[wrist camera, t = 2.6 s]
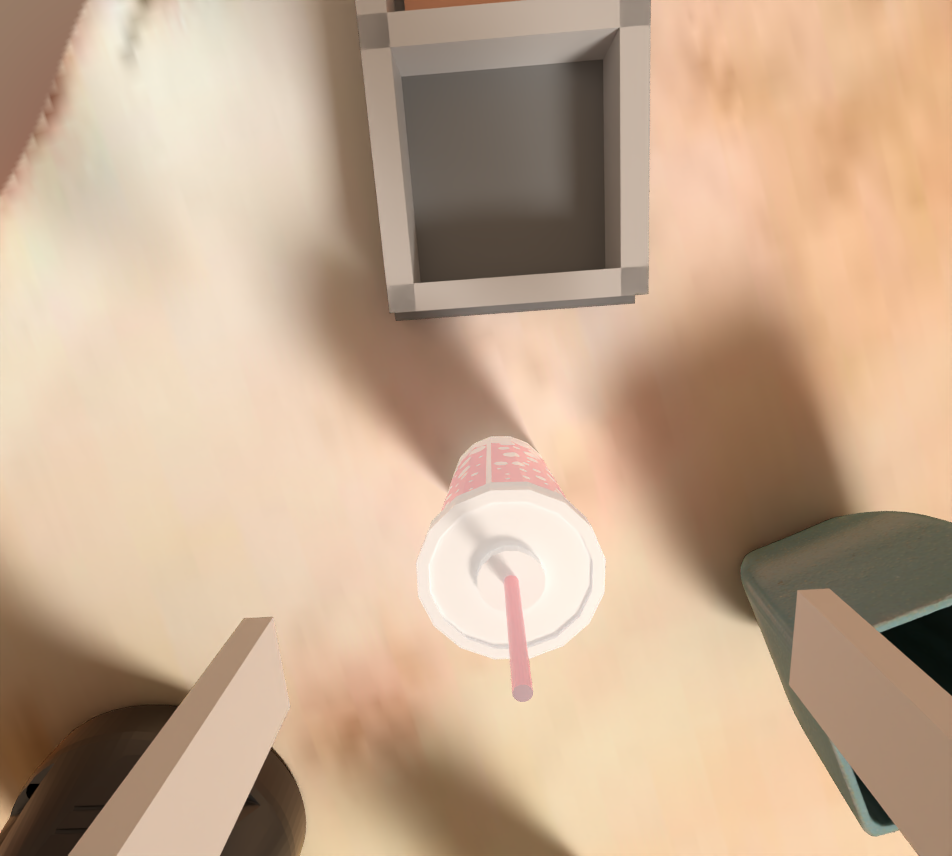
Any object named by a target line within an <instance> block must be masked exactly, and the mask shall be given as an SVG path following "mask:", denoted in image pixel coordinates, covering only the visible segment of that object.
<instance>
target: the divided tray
mask: <svg viewBox="0 0 952 856" xmlns="http://www.w3.org/2000/svg"><path fill="white" fill-rule="evenodd" d="M355 5H356V14H357V23H358V32H359V41H360V50H361V59H362V68H363V77H364V86H365V96H366V105H367V114H368V123H369V132H370V141H371V150H372V159H373V168H374V177H375V186H376V195H377V205H378V214H379V223H380V232H381V241H382V250H383V259H384V268H385V277H386V286H387V295H388V304H389V313H395V319H396V321H401V320H414V319H428V318H442V317H455V316H469V315H482V314H496V313H510V312H523V311H537V310H551V309H564V308H578V307H592V306H605V305H619V304H632V303H635V295H643V294H648V274H649V147H650V21H651V0H355Z"/></svg>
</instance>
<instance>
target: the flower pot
mask: <svg viewBox="0 0 952 856" xmlns="http://www.w3.org/2000/svg"><path fill="white" fill-rule="evenodd" d="M740 574H741V581H742V585H743V587H744V590H745V593H746V595H747V598H748V600H749V602H750V605H751V607H752V610H753V612H754V614H755V617H756V619H757V622H758V624H759V627H760V629H761V632H762V634H763V637H764V639H765V642H766V644H767V647H768V649H769V652H770V654H771V657H772V659H773V662H774V664H775V667H776V669H777V672H778V674H779V677H780V680H781V682H782V685H783V688H784V690H785V693H786V695H787V698H788V700H789V702H790V705H791V707H792V709H793V711H794V713H795V715H796V717H797V719H798V721H799V723H800V725H801V727H802V729H803V730H804V732H805V734H806V736H807V737H808V739H809V741H810V742H811V744H812V746H813V747H814V749H815V751H816V752H817V754H818V756H819V757H820V759H821V761H822V762H823V764H824V766H825V767H826V769H827V771H828V772H829V774H830V776H831V777H832V779H833V781H834V782H835V784H836V786H837V787H838V789H839V791H840V792H841V794H842V796H843V797H844V799H845V801H846V802H847V804H848V806H849V807H850V809H851V810H852V812H853V814H854V815H855V817H856V819H857V820H858V822H859V824H860V825H861V827H862V828H863V830H864V831H865V832H866V833H868V834H869V835H871V836H880V835H884V834H888V833H891V832H895V831H898V830H899V829H898V828H897V826H896V825H895V824H894V823H893V821H892V820H891V819H890V817H889V816H888V815H887V813H886V812H885V811H884V809H883V808H882V807H881V805H880V804H879V803H878V801H877V800H876V799H875V797H874V796H873V795H872V794H871V792H870V791H869V790H868V788H867V787H866V786H865V784H864V783H863V782H862V780H861V779H860V778H859V776H858V775H857V774H856V772H855V771H854V770H853V769H852V767H851V766H850V765H849V763H848V762H847V761H846V759H845V758H844V757H843V755H842V754H841V753H840V751H839V750H838V749H837V747H836V746H835V745H834V743H833V742H832V741H831V740H830V738H829V737H828V736H827V734H826V733H825V732H824V730H823V729H822V728H821V726H820V725H819V724H818V722H817V721H816V720H815V718H814V717H813V716H812V715H811V713H810V712H809V711H808V709H807V708H806V707H805V705H804V704H803V703H802V701H801V700H800V699H799V697H798V696H797V695H796V693H795V692H794V691H793V689H792V688H791V687H790V686H789V679H790V668H791V656H792V645H793V634H794V623H795V612H796V600H797V590H810V589H830V590H832V591H833V592H834V593H835V594H836V595H837V596H838V597H840V598H841V599H842V600H843V601H844V602H845V603H846V604H847V605H849V606H850V607H851V608H852V609H853V610H854V611H855V612H857V613H858V614H859V615H860V616H861V617H862V618H863V619H865V620H866V621H867V622H868V623H869V624H870V625H871V626H873V627H874V628H875V629H876V630H877V631H878V632H879V633H880V634H882V635H883V636H884V637H885V638H886V639H887V640H888V641H890V642H891V643H892V644H893V645H894V646H895V647H896V648H898V649H899V650H900V651H901V652H902V653H903V654H904V655H906V656H907V657H908V658H909V659H910V660H911V661H912V662H913V663H915V664H916V665H917V666H918V667H919V668H920V669H921V670H923V671H924V672H925V673H926V674H927V675H928V676H929V677H931V678H932V679H933V680H934V681H935V682H936V683H937V684H939V685H940V686H941V687H942V688H943V689H944V690H945V691H946V692H948V693H949V694H950V695H951V696H952V523H951V522H948V521H945V520H941V519H937V518H934V517H930V516H926V515H921V514H915V513H908V512H896V511H878V512H865V513H858V514H851V515H845V516H840V517H835V518H832V519H829V520H827V521H824V522H822V523H820V524H818V525H815V526H813V527H810V528H808V529H806V530H803V531H801V532H799V533H796V534H794V535H791V536H789V537H787V538H784V539H782V540H779V541H777V542H774V543H772V544H769V545H767V546H764V547H762V548H759V549H757V550H754V551H752V552H750V553H749V554H747V555H746V556H745V558H744V560H743V562H742V565H741V571H740Z"/></svg>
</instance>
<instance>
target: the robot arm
mask: <svg viewBox="0 0 952 856" xmlns="http://www.w3.org/2000/svg"><path fill="white" fill-rule="evenodd" d="M789 686H790V687H791V688H792V689H793V691H794V692H795V693H796V695H797V696H798V697H799V699H800V700H801V701H802V703H803V704H804V705H805V707H806V708H807V709H808V711H809V712H810V713H811V715H812V716H813V717H814V718H815V720H816V721H817V722H818V724H819V725H820V726H821V728H822V729H823V730H824V732H825V733H826V734H827V736H828V737H829V738H830V740H831V741H832V742H833V743H834V745H835V746H836V747H837V749H838V750H839V751H840V753H841V754H842V755H843V757H844V758H845V759H846V761H847V762H848V763H849V765H850V766H851V767H852V769H853V770H854V771H855V772H856V774H857V775H858V776H859V778H860V779H861V780H862V782H863V783H864V784H865V786H866V787H867V788H868V790H869V791H870V792H871V794H872V795H873V796H874V797H875V799H876V800H877V801H878V803H879V804H880V805H881V807H882V808H883V809H884V811H885V812H886V813H887V815H888V816H889V817H890V819H891V820H892V821H893V823H894V824H895V825H896V826H897V828H898V829H899V830H900V832H901V833H902V834H903V836H904V837H905V838H906V840H907V841H908V842H909V844H910V845H911V846H912V848H913V849H914V850H915V851H916V853H917V854H918V855H919V856H952V696H951V695H950V694H949V693H948V692H946V691H945V690H944V689H943V688H942V687H941V686H940V685H939V684H937V683H936V682H935V681H934V680H933V679H932V678H931V677H929V676H928V675H927V674H926V673H925V672H924V671H923V670H921V669H920V668H919V667H918V666H917V665H916V664H915V663H913V662H912V661H911V660H910V659H909V658H908V657H907V656H906V655H904V654H903V653H902V652H901V651H900V650H899V649H898V648H896V647H895V646H894V645H893V644H892V643H891V642H890V641H888V640H887V639H886V638H885V637H884V636H883V635H882V634H880V633H879V632H878V631H877V630H876V629H875V628H874V627H873V626H871V625H870V624H869V623H868V622H867V621H866V620H865V619H863V618H862V617H861V616H860V615H859V614H858V613H857V612H855V611H854V610H853V609H852V608H851V607H850V606H849V605H847V604H846V603H845V602H844V601H843V600H842V599H841V598H840V597H838V596H837V595H836V594H835V593H834V592H833V591H832V590H830V589H810V590H797V600H796V612H795V623H794V634H793V645H792V656H791V668H790V679H789ZM289 709H290V702H289V697H288V692H287V686H286V681H285V676H284V671H283V666H282V660H281V655H280V650H279V645H278V639H277V634H276V629H275V624H274V618H273V617H260V618H244V619H243V620H242V621H241V623H240V624H239V626H238V627H237V628H236V630H235V631H234V632H233V634H232V635H231V636H230V638H229V639H228V640H227V642H226V643H225V644H224V646H223V647H222V648H221V650H220V651H219V652H218V654H217V655H216V657H215V658H214V659H213V661H212V662H211V663H210V665H209V666H208V667H207V669H206V670H205V671H204V673H203V674H202V675H201V677H200V678H199V679H198V681H197V682H196V683H195V685H194V686H193V688H192V689H191V690H190V692H189V693H188V694H187V696H186V697H185V698H184V700H183V701H182V702H181V704H180V705H179V706H178V707H177V706H167V705H142V706H133V707H127V708H122V709H118V710H114V711H111V712H107V713H105V714H102V715H99V716H97V717H95V718H93V719H91V720H89V721H87V722H86V723H84V724H82V725H81V726H79V727H78V728H77V729H75V730H74V731H73V732H72V733H70V734H69V735H68V736H67V737H66V738H65V739H64V740H63V741H62V742H61V743H60V745H59V746H58V747H57V748H56V749H55V750H54V751H53V752H52V753H51V754H50V755H49V756H48V757H47V759H46V760H45V761H44V762H43V763H42V764H41V765H40V766H39V767H38V768H37V769H36V771H35V772H34V773H33V774H32V776H31V777H30V778H29V780H28V781H27V783H26V784H25V786H24V787H23V789H22V791H21V793H20V795H19V797H18V798H17V800H16V802H15V804H14V807H13V809H12V812H11V816H10V818H9V820H8V821H7V823H6V824H5V826H4V828H3V829H2V831H1V833H0V856H300V853H301V850H302V847H303V843H304V839H305V832H306V816H305V809H304V804H303V800H302V797H301V794H300V792H299V789H298V787H297V785H296V783H295V781H294V779H293V777H292V776H291V774H290V773H289V771H288V770H287V768H286V767H285V766H284V764H283V763H282V762H281V761H280V759H279V758H278V757H277V756H276V755H275V754H274V753H273V752H272V751H271V750H270V749H271V747H272V745H273V742H274V740H275V738H276V736H277V734H278V732H279V730H280V728H281V726H282V723H283V721H284V719H285V717H286V715H287V713H288V711H289Z"/></svg>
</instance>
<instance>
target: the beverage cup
mask: <svg viewBox="0 0 952 856" xmlns="http://www.w3.org/2000/svg"><path fill="white" fill-rule="evenodd" d="M605 562H606V559H605V557H604V554H603V552H602V550H601V547H600V545H599V543H598V540H597V538H596V536H595V533H594V531H593V529H592V526H591V524H590V523H589V522H588V520H587V518H586V517H585V516H584V515H583V514H582V513H581V512H580V511H579V510H578V509H577V508H576V507H574V506H573V505H572V504H571V503H570V502H569V501H568V500H567V499H566V497H565V495H564V494H563V492H562V490H561V489H560V487H559V485H558V484H557V482H556V480H555V478H554V477H553V475H552V473H551V472H550V470H549V468H548V467H547V465H546V463H545V462H544V460H543V458H542V457H541V455H540V454H539V453H538V452H537V451H536V450H535V449H533V448H532V447H531V446H530V445H529V444H528V443H527V442H524V441H521V440H519V439H516V438H513V437H511V436H492V437H488V438H486V439H484V440H481V441H479V442H477V443H474V444H473V445H472V446H471V447H470V448H469V449H468V450H467V451H466V452H465V453H464V454H463V455H462V456H461V457H460V459H459V462H458V464H457V467H456V470H455V472H454V475H453V478H452V481H451V484H450V487H449V490H448V493H447V496H446V498H445V501H444V504H443V507H442V510H441V512H440V513H439V514H438V515H437V516H436V517H435V518H434V519H433V520H432V522H431V525H430V527H429V530H428V532H427V535H426V537H425V540H424V542H423V545H422V548H421V550H420V553H419V556H418V558H417V562H416V567H417V583H418V597H419V599H420V601H421V603H422V604H423V606H424V608H425V610H426V612H427V614H428V616H429V618H430V619H431V621H432V623H433V625H434V627H436V628H437V629H438V630H439V631H441V632H442V633H443V634H444V635H445V636H447V637H448V638H449V639H450V640H452V641H453V642H454V643H455V644H456V645H458V646H459V647H460V648H462V649H465V650H468V651H471V652H474V653H477V654H480V655H483V656H486V657H489V658H492V659H510V668H511V681H512V693H513V697H514V698H515V699H516V700H517V701H520V702H525V701H528V700H529V699H531V697H532V695H533V688H532V681H531V673H530V665H529V659H530V658H533V657H535V656H538V655H541V654H543V653H546V652H549V651H551V650H554V649H557V648H559V647H562V646H564V645H565V644H566V643H567V642H568V641H569V640H571V639H572V638H573V637H574V636H575V635H576V634H578V633H579V632H580V631H581V630H582V629H583V628H584V627H586V626H587V625H588V624H589V623H590V621H591V619H592V617H593V615H594V613H595V611H596V609H597V607H598V605H599V603H600V601H601V599H602V597H603V595H604V590H605Z"/></svg>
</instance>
